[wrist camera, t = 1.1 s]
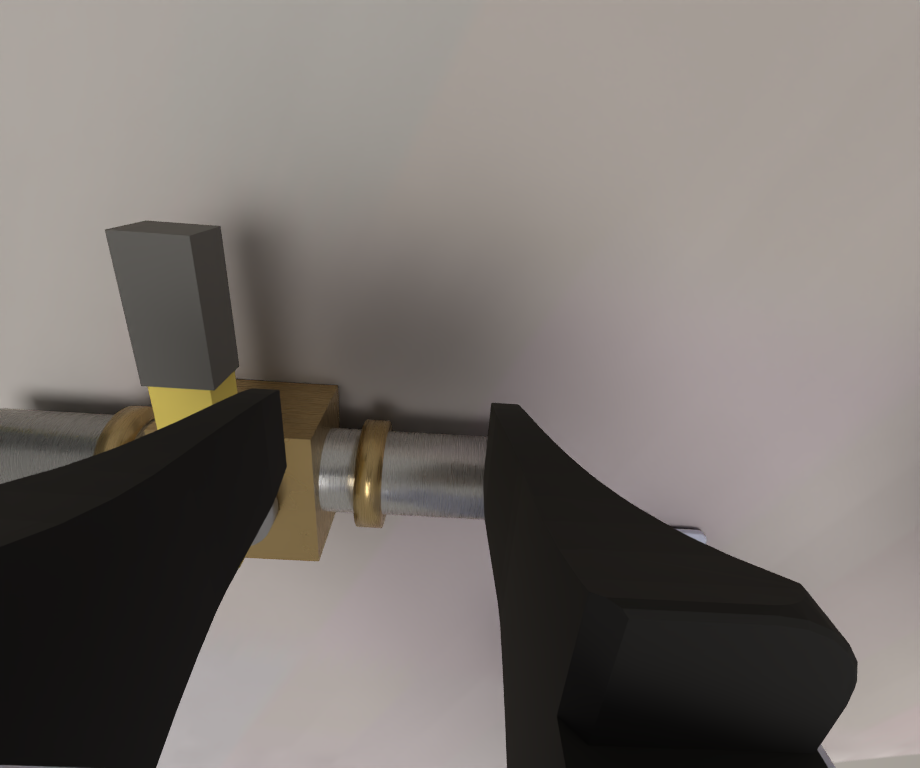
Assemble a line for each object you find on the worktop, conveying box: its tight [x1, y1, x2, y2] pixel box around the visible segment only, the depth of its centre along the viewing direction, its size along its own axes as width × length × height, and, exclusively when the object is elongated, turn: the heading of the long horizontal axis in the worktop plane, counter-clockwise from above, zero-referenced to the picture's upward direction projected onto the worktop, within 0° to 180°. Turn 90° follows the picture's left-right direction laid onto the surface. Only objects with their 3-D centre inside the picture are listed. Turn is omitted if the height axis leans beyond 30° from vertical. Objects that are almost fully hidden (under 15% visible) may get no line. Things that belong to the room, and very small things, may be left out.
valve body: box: [0, 379, 488, 561], centre depth 21 cm, size 22×6×5 cm, turn 86°
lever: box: [105, 221, 278, 568], centre depth 16 cm, size 12×3×2 cm, turn 176°
